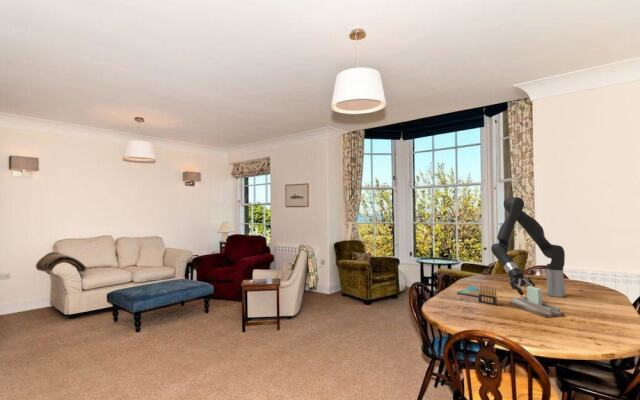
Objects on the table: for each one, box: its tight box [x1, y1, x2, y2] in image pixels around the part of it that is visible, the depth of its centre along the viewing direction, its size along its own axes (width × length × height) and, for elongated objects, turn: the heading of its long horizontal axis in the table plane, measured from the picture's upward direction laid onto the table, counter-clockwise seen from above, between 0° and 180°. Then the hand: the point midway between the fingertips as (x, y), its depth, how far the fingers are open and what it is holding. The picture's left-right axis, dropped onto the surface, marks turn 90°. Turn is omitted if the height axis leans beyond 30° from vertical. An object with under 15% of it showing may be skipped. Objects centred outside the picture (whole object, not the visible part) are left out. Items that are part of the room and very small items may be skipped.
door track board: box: [508, 295, 566, 319], centre depth 199 cm, size 12×26×4 cm, turn 12°
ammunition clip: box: [478, 282, 498, 306], centre depth 214 cm, size 11×2×12 cm, turn 39°
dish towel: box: [456, 285, 494, 299], centre depth 240 cm, size 17×23×2 cm
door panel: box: [526, 285, 543, 306], centre depth 199 cm, size 3×8×11 cm, turn 12°
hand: (528, 294), depth 203 cm, fingers open, 8 cm apart
